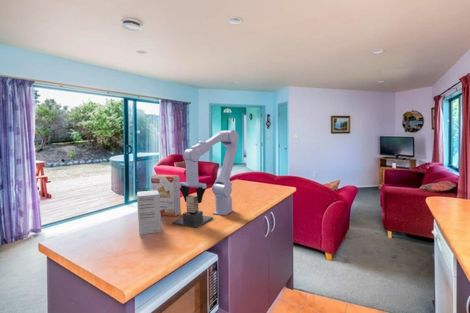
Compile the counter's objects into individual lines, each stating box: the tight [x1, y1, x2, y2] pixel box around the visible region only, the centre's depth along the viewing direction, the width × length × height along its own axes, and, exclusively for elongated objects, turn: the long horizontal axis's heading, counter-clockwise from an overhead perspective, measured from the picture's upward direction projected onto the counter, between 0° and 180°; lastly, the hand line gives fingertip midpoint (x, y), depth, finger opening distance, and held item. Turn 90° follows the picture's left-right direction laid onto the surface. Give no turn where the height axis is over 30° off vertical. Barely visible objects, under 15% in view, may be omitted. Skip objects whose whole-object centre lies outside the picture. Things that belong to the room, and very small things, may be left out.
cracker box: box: [150, 174, 182, 217], centre depth 139 cm, size 14×6×21 cm, turn 69°
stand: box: [171, 210, 214, 229], centre depth 127 cm, size 14×14×5 cm
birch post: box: [185, 194, 199, 213], centre depth 127 cm, size 4×4×7 cm
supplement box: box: [136, 190, 162, 236], centre depth 117 cm, size 10×9×17 cm
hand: (193, 202), depth 127 cm, fingers open, 7 cm apart
